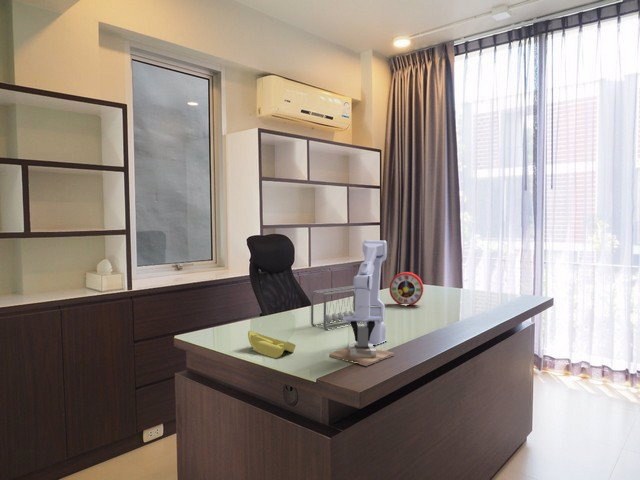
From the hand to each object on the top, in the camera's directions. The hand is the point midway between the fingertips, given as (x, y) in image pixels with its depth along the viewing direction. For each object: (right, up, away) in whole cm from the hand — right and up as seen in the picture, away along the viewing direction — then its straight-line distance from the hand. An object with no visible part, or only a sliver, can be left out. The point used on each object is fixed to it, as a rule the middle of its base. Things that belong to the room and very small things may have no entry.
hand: (362, 340), depth 177 cm
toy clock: (+36, -1, +102) cm, 109 cm away
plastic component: (-36, -6, +7) cm, 37 cm away
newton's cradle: (-6, -4, +52) cm, 52 cm away
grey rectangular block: (0, -2, 0) cm, 2 cm away
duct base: (0, -6, 0) cm, 6 cm away
